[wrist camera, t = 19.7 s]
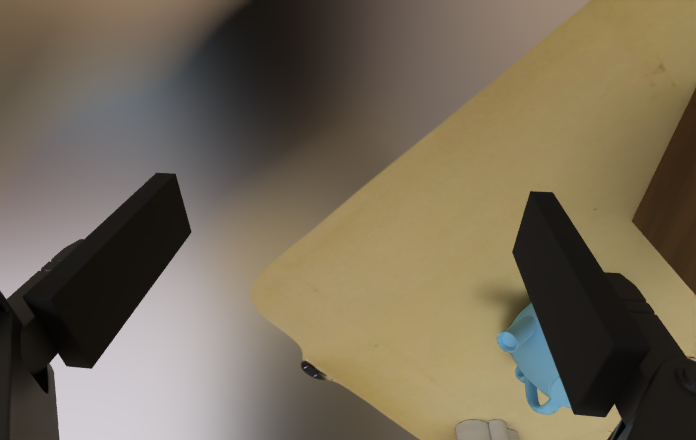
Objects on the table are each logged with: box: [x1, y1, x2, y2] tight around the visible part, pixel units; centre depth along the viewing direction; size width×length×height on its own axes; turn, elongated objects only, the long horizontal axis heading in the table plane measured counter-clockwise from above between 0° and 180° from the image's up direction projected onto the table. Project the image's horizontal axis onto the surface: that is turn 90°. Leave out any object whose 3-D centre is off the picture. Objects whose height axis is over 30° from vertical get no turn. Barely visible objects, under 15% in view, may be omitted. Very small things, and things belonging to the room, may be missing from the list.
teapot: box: [497, 303, 572, 415], centre depth 50 cm, size 20×20×13 cm
